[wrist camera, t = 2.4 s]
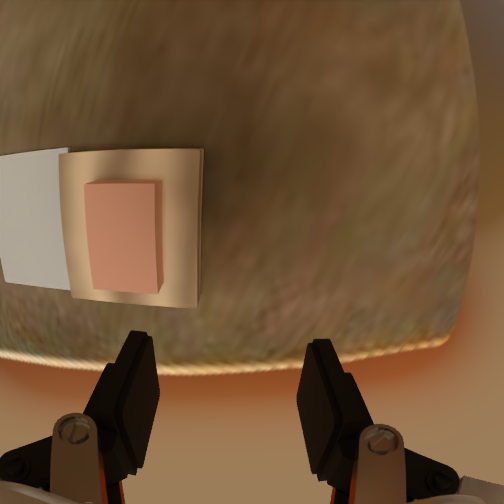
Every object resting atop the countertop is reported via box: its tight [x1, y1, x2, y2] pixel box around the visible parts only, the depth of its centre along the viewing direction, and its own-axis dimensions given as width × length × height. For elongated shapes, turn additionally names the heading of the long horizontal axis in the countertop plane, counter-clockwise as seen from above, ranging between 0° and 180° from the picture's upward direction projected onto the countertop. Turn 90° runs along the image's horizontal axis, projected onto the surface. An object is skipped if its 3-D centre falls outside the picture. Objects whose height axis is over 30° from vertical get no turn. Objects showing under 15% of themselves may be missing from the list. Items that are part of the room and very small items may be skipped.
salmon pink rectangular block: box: [84, 180, 164, 294], centre depth 24 cm, size 6×9×2 cm, turn 176°
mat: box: [0, 147, 71, 290], centre depth 27 cm, size 12×15×1 cm
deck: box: [59, 148, 204, 309], centre depth 27 cm, size 13×14×3 cm
